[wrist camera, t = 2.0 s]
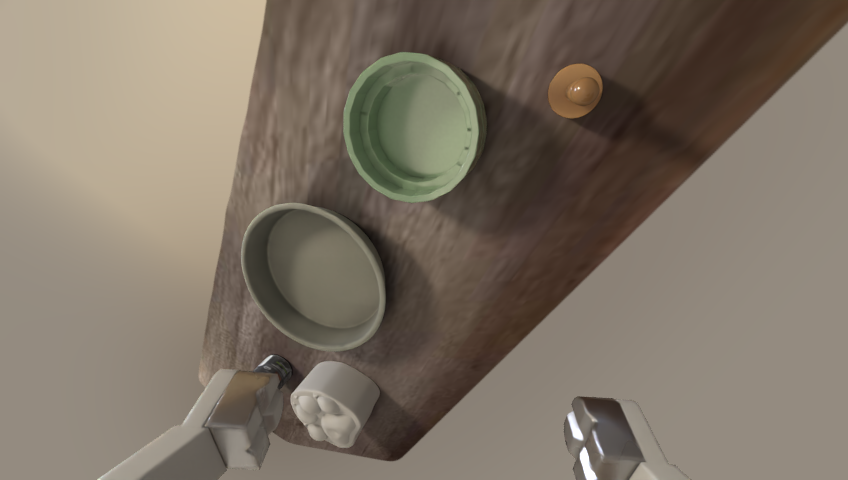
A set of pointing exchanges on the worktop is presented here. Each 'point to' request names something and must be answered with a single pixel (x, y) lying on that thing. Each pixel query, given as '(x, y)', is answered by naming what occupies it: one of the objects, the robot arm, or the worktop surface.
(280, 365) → the pill bottle
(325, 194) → the worktop surface
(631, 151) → the worktop surface
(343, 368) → the lumpy-topped squat cylinder
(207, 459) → the robot arm
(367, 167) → the bowl
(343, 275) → the cake pan
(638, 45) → the worktop surface
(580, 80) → the wooden peg stand
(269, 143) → the worktop surface
